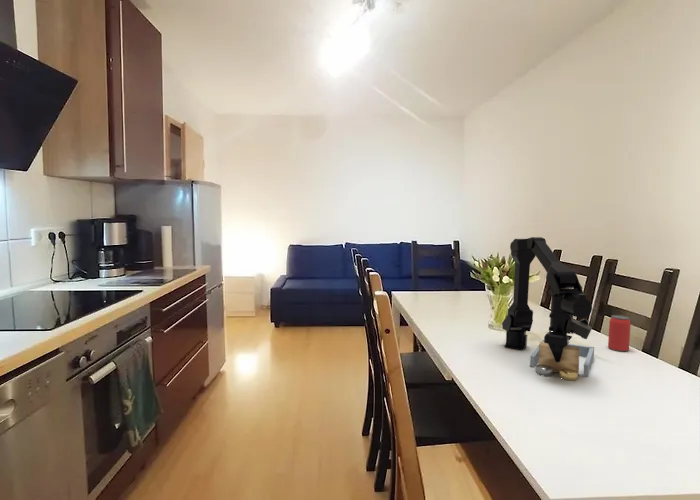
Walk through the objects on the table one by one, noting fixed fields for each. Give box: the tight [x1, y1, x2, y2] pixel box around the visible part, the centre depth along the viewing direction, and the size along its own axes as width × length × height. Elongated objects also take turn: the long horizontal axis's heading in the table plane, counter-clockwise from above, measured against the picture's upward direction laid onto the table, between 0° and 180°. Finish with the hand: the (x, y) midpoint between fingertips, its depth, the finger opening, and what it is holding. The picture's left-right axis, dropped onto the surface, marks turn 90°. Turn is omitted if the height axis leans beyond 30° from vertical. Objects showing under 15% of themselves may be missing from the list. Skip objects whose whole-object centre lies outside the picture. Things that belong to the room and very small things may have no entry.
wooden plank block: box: [538, 341, 580, 373], centre depth 141 cm, size 11×3×8 cm, turn 58°
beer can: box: [607, 314, 632, 352], centre depth 165 cm, size 7×7×12 cm
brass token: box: [558, 369, 579, 382], centre depth 136 cm, size 5×5×2 cm
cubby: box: [529, 339, 595, 378], centre depth 151 cm, size 16×22×4 cm
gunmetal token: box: [535, 364, 554, 377], centre depth 140 cm, size 5×5×2 cm
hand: (558, 360), depth 141 cm, fingers closed on wooden plank block, 3 cm apart
